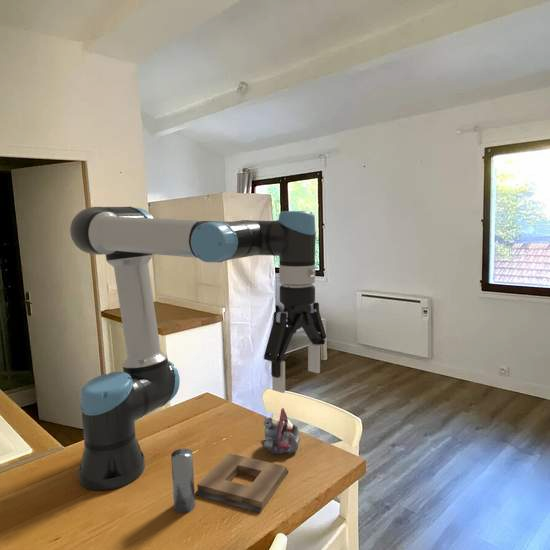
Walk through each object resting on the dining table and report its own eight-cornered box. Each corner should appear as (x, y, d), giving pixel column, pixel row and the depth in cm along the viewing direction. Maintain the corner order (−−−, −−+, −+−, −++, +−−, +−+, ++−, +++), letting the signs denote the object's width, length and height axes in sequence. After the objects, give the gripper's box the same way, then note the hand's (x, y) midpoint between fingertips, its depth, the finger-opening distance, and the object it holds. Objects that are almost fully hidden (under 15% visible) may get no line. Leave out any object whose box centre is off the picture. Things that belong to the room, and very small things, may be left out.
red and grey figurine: (304, 452, 109) (275, 414, 109) (271, 473, 112) (243, 435, 112) (310, 430, 120) (284, 395, 120) (280, 450, 123) (254, 416, 123)
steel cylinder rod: (169, 510, 92) (166, 457, 90) (182, 497, 96) (179, 446, 94) (187, 515, 90) (184, 461, 89) (199, 502, 94) (196, 450, 92)
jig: (195, 494, 97) (195, 486, 97) (230, 458, 111) (230, 451, 111) (260, 513, 90) (260, 504, 90) (288, 472, 104) (288, 464, 104)
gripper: (275, 295, 79) (276, 405, 82) (341, 278, 99) (340, 368, 102) (245, 291, 84) (246, 395, 87) (313, 276, 104) (313, 361, 107)
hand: (297, 381), depth 94 cm, fingers open, 13 cm apart
